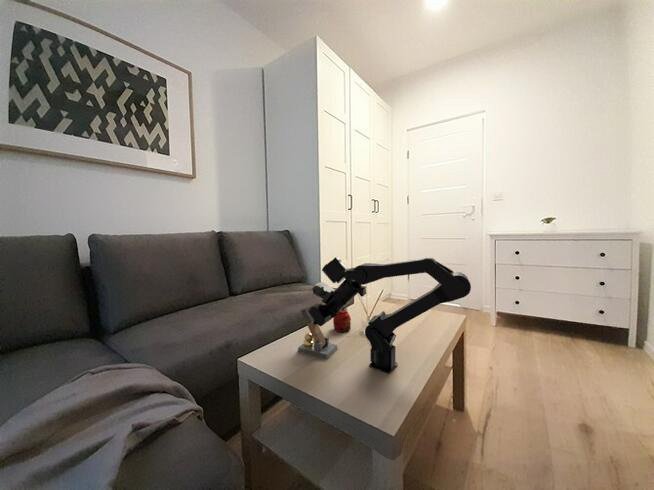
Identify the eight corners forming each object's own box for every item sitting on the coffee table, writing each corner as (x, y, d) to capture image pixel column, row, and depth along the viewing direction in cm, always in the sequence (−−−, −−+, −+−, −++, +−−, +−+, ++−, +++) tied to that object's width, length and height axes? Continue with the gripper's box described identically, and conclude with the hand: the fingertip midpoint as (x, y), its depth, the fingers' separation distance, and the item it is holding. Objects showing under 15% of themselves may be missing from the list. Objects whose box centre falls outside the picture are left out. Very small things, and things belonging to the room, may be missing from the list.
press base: (337, 349, 86) (337, 333, 85) (327, 359, 79) (326, 342, 79) (309, 342, 91) (309, 328, 91) (298, 351, 84) (297, 336, 84)
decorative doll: (341, 334, 98) (340, 296, 97) (329, 329, 103) (329, 293, 103) (354, 329, 103) (354, 293, 102) (342, 324, 108) (342, 290, 108)
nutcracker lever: (327, 343, 85) (309, 306, 87) (322, 347, 82) (305, 308, 85) (322, 345, 86) (305, 308, 88) (318, 349, 83) (300, 310, 86)
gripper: (339, 271, 90) (313, 298, 96) (312, 280, 74) (283, 312, 79) (360, 294, 87) (332, 321, 92) (337, 309, 70) (305, 341, 76)
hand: (314, 323), depth 85 cm, fingers closed, pressing on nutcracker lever
